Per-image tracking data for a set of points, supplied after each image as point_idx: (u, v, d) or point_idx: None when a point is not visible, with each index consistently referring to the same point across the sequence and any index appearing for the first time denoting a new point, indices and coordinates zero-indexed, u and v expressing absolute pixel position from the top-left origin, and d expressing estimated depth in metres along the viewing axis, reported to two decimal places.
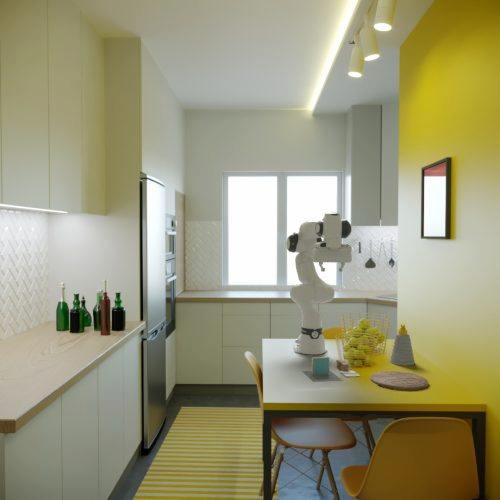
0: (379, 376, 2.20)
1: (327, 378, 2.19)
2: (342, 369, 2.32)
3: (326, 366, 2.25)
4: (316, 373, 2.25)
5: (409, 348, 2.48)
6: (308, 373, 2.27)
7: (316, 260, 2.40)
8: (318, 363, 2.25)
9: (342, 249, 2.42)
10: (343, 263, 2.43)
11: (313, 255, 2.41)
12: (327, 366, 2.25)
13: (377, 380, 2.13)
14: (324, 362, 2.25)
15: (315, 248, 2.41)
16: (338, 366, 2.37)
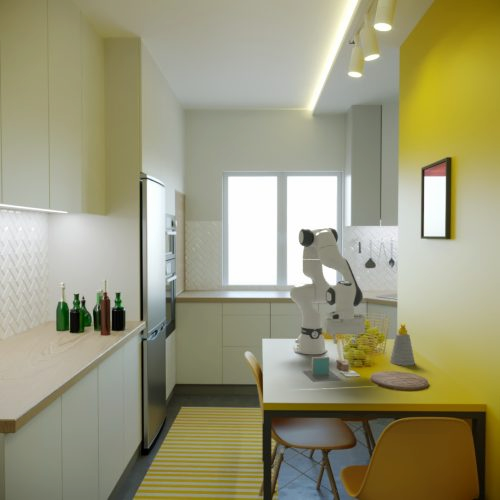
0: (379, 376, 2.20)
1: (327, 378, 2.19)
2: (342, 369, 2.32)
3: (326, 366, 2.25)
4: (316, 373, 2.25)
5: (409, 348, 2.48)
6: (308, 373, 2.27)
7: (328, 332, 2.30)
8: (318, 363, 2.25)
9: (355, 320, 2.32)
10: (356, 334, 2.33)
11: (325, 327, 2.31)
12: (327, 366, 2.25)
13: (377, 380, 2.13)
14: (324, 362, 2.25)
15: (327, 319, 2.32)
16: (338, 366, 2.37)
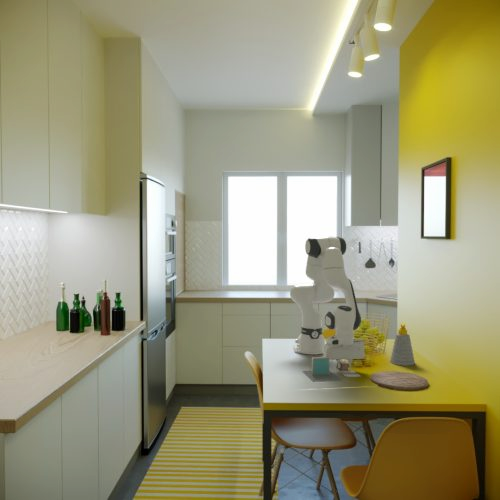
0: (379, 376, 2.20)
1: (327, 378, 2.19)
2: (342, 369, 2.32)
3: (326, 366, 2.25)
4: (316, 373, 2.25)
5: (409, 348, 2.48)
6: (308, 373, 2.27)
7: None
8: (318, 363, 2.25)
9: (355, 345, 2.33)
10: (350, 359, 2.33)
11: (325, 352, 2.32)
12: (327, 366, 2.25)
13: (377, 380, 2.13)
14: (324, 362, 2.25)
15: (327, 344, 2.32)
16: None
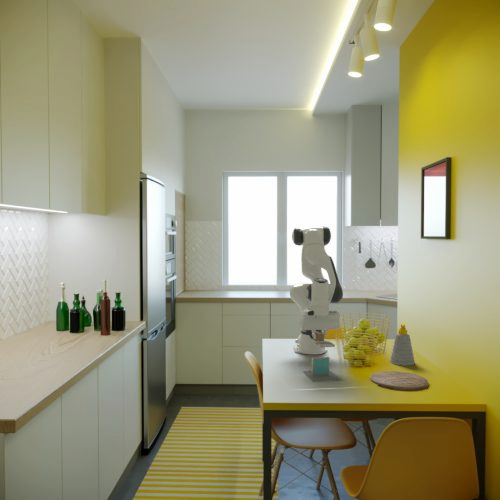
0: (379, 376, 2.20)
1: (327, 378, 2.19)
2: (318, 339, 2.38)
3: (326, 366, 2.25)
4: (316, 373, 2.25)
5: (409, 348, 2.48)
6: (308, 373, 2.27)
7: (304, 328, 2.36)
8: (318, 363, 2.25)
9: (330, 316, 2.39)
10: (326, 330, 2.39)
11: (301, 323, 2.37)
12: (327, 366, 2.25)
13: (377, 380, 2.13)
14: (324, 362, 2.25)
15: (303, 315, 2.38)
16: None
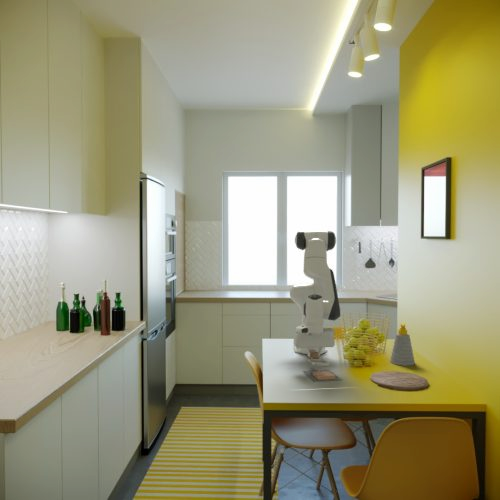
0: (379, 376, 2.20)
1: None
2: (312, 357, 2.33)
3: None
4: None
5: (409, 348, 2.48)
6: (308, 373, 2.27)
7: (297, 346, 2.31)
8: None
9: (325, 334, 2.34)
10: (320, 348, 2.34)
11: (294, 340, 2.33)
12: None
13: (377, 380, 2.13)
14: None
15: (297, 333, 2.33)
16: None
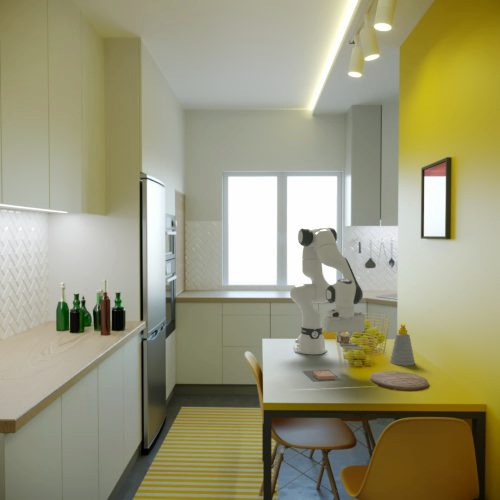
0: (379, 376, 2.20)
1: None
2: (342, 342, 2.32)
3: None
4: None
5: (409, 348, 2.48)
6: (308, 373, 2.27)
7: (328, 330, 2.30)
8: None
9: (355, 318, 2.33)
10: (351, 332, 2.33)
11: (325, 325, 2.31)
12: None
13: (377, 380, 2.13)
14: None
15: (327, 317, 2.32)
16: None
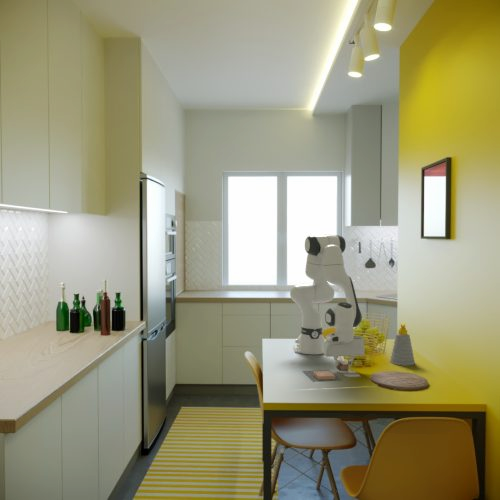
0: (379, 376, 2.20)
1: None
2: (342, 369, 2.32)
3: None
4: None
5: (409, 348, 2.48)
6: (308, 373, 2.27)
7: (328, 354, 2.30)
8: None
9: (355, 342, 2.33)
10: (353, 356, 2.34)
11: (325, 349, 2.32)
12: None
13: (377, 380, 2.13)
14: None
15: (327, 341, 2.32)
16: (338, 366, 2.37)
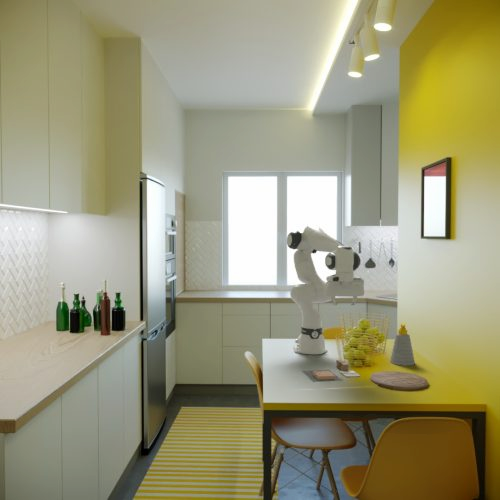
0: (379, 376, 2.20)
1: None
2: (342, 369, 2.32)
3: None
4: None
5: (409, 348, 2.48)
6: (308, 373, 2.27)
7: (329, 294, 2.39)
8: None
9: (354, 283, 2.41)
10: (355, 297, 2.42)
11: (325, 289, 2.40)
12: None
13: (377, 380, 2.13)
14: None
15: (327, 282, 2.40)
16: (338, 366, 2.37)
